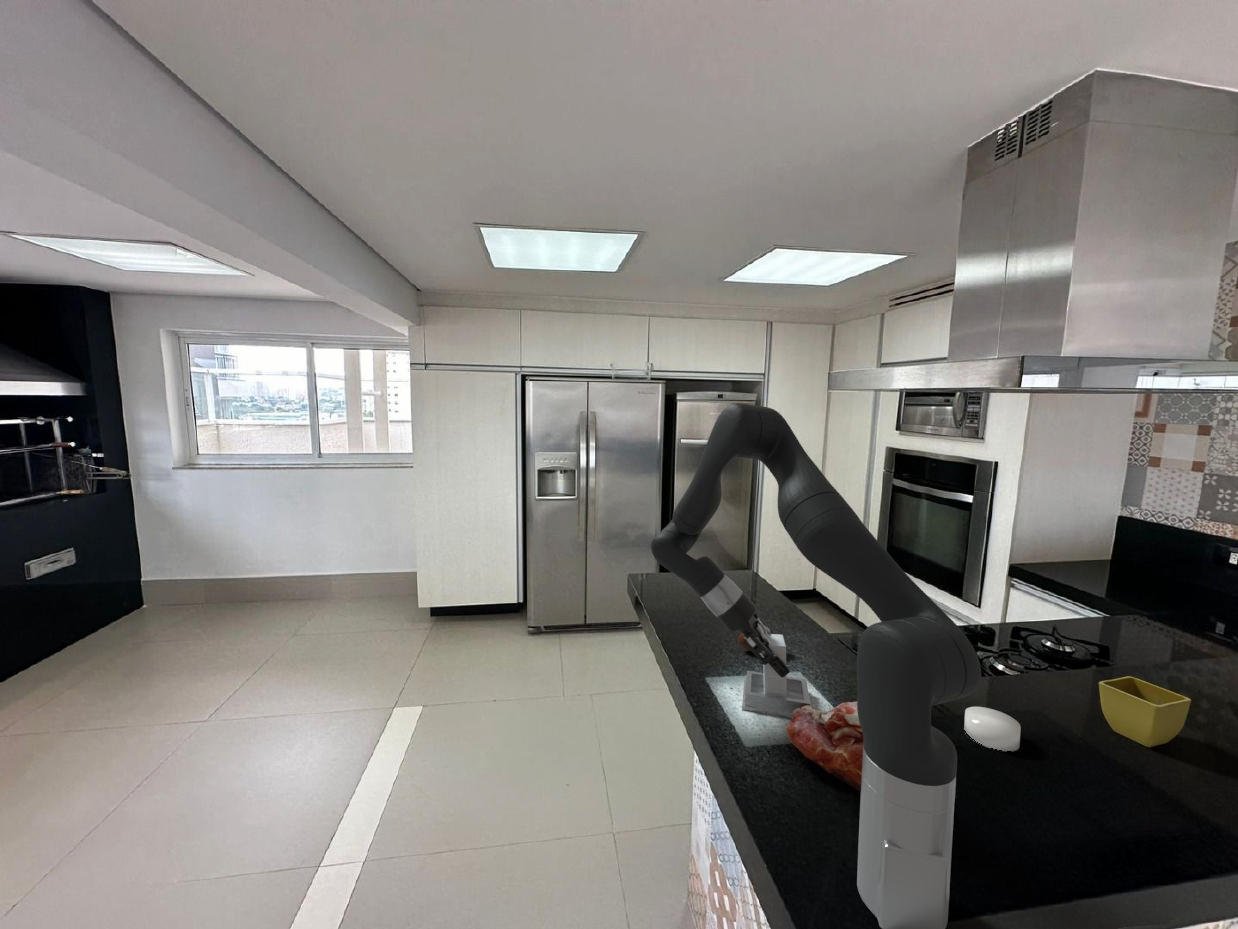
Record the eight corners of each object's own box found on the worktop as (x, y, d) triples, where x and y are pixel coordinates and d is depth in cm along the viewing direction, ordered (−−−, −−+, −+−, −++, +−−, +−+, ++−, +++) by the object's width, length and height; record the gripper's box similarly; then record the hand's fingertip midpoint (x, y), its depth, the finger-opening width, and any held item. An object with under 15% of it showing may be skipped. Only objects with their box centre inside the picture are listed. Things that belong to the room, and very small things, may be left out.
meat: (781, 711, 97) (783, 661, 97) (902, 730, 91) (905, 678, 91) (786, 783, 77) (788, 721, 77) (941, 814, 71) (945, 747, 71)
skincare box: (787, 706, 97) (786, 646, 96) (765, 704, 98) (763, 645, 97) (784, 690, 103) (783, 634, 102) (763, 688, 104) (761, 633, 103)
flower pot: (1154, 757, 84) (1159, 706, 84) (1093, 727, 93) (1097, 681, 92) (1188, 749, 87) (1193, 699, 86) (1126, 721, 95) (1129, 675, 95)
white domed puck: (1028, 756, 84) (1030, 736, 84) (974, 747, 87) (975, 727, 86) (1006, 729, 92) (1007, 710, 92) (957, 722, 94) (958, 703, 94)
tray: (812, 721, 94) (813, 705, 93) (742, 709, 97) (742, 694, 97) (807, 692, 104) (808, 678, 104) (744, 682, 108) (744, 669, 108)
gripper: (739, 602, 95) (802, 671, 92) (742, 581, 108) (797, 640, 106) (710, 626, 96) (771, 694, 94) (717, 602, 110) (770, 661, 108)
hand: (785, 665), depth 100 cm, fingers open, 7 cm apart
